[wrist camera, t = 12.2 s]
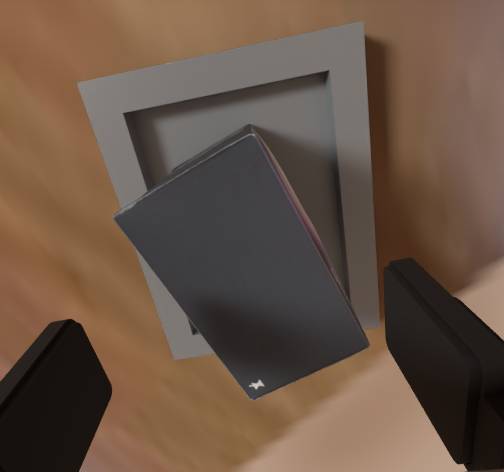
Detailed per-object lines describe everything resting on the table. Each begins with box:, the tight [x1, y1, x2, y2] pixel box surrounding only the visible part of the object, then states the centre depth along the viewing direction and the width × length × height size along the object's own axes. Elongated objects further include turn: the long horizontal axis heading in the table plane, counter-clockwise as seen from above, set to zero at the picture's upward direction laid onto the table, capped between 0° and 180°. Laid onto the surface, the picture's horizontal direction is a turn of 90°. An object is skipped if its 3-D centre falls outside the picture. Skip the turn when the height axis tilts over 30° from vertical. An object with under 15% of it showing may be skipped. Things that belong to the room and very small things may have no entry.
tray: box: [77, 21, 380, 360], centre depth 22 cm, size 20×16×2 cm
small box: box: [113, 124, 370, 400], centre depth 18 cm, size 11×6×10 cm, turn 30°
